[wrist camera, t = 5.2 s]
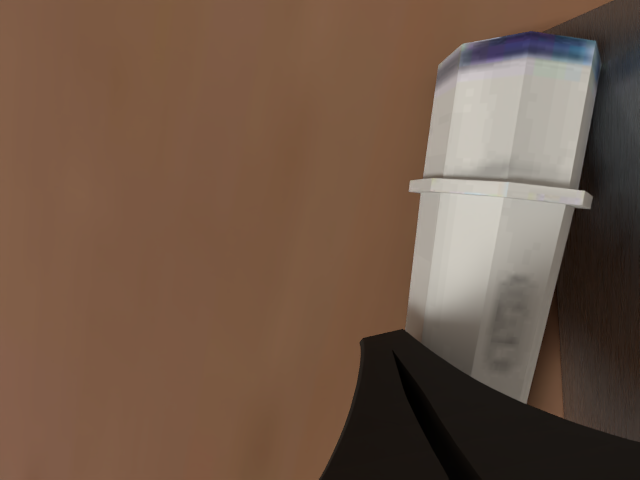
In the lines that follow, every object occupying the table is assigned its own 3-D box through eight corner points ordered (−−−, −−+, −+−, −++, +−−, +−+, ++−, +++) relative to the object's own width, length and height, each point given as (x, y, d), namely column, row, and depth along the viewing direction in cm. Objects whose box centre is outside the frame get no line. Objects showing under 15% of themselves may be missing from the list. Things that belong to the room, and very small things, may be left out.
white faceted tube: (688, 46, 8) (500, 926, 11) (511, 112, 15) (423, 652, 18) (456, 11, 8) (326, 936, 11) (381, 95, 14) (314, 650, 17)
